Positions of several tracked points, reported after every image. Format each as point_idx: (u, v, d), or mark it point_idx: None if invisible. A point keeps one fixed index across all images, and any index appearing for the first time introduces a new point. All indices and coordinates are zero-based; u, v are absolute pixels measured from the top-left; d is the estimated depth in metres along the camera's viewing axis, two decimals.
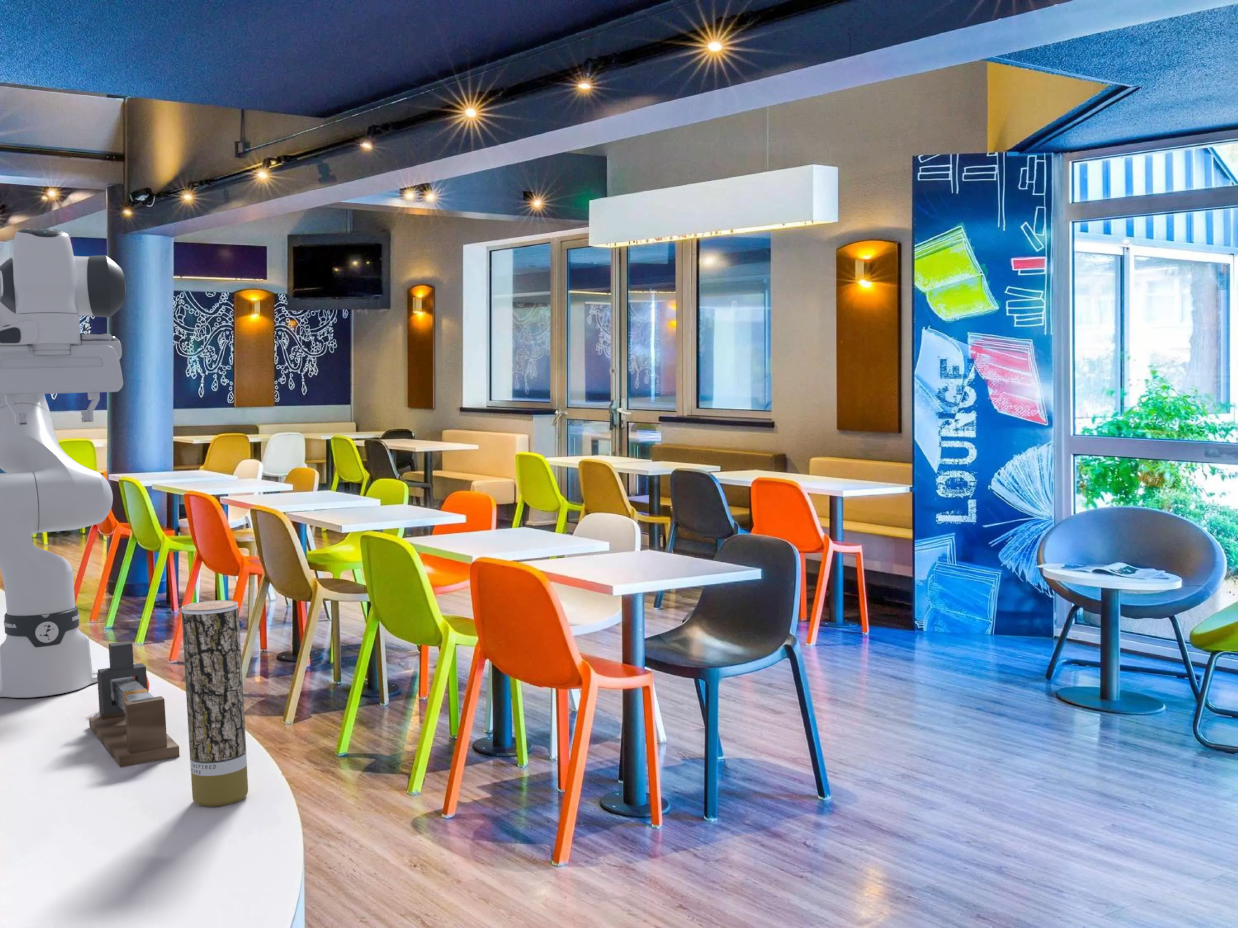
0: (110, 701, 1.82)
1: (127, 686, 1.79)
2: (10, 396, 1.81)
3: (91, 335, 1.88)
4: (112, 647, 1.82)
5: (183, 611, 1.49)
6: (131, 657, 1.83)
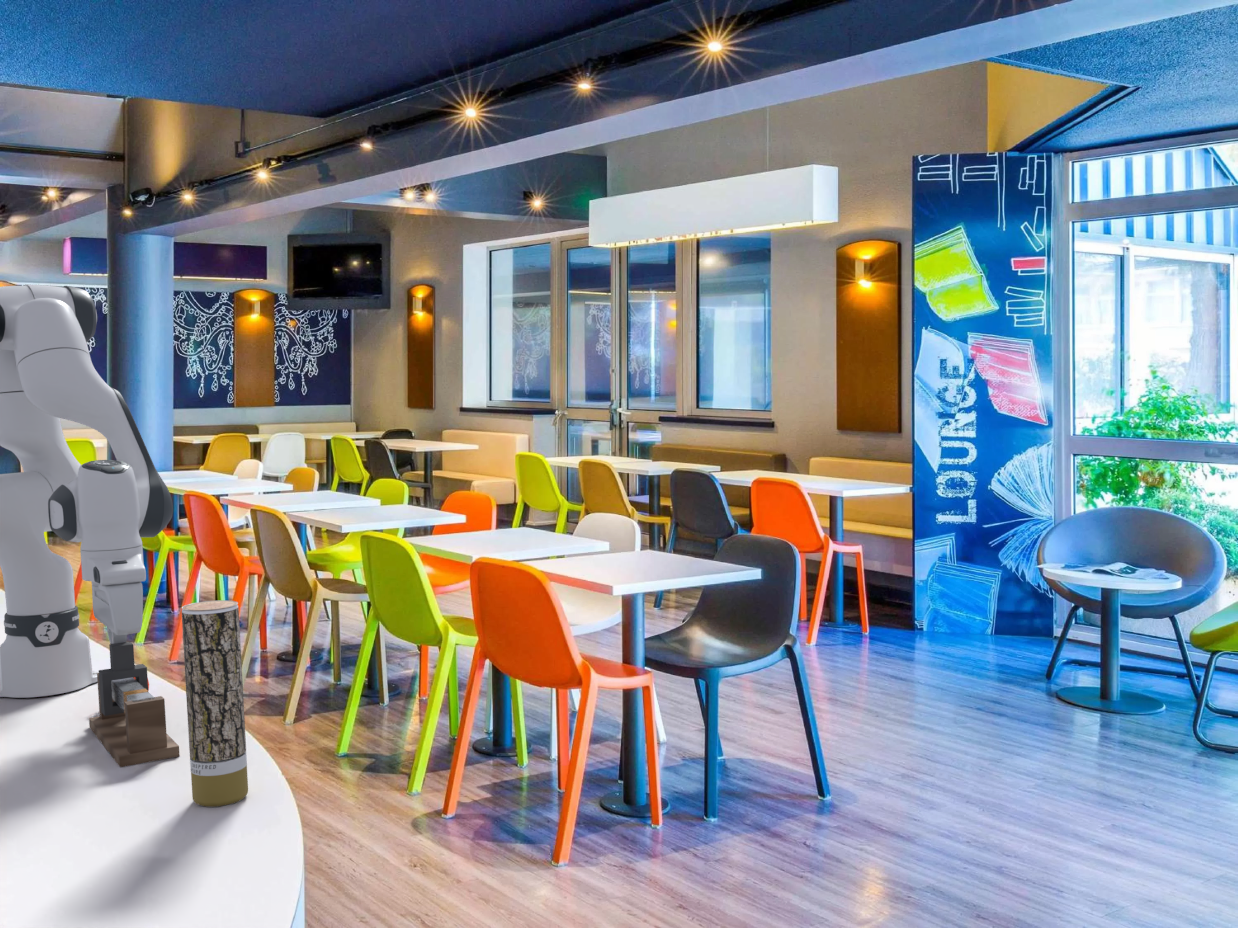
0: (111, 702, 1.81)
1: (127, 686, 1.79)
2: None
3: None
4: (113, 648, 1.81)
5: (183, 611, 1.49)
6: (132, 658, 1.83)
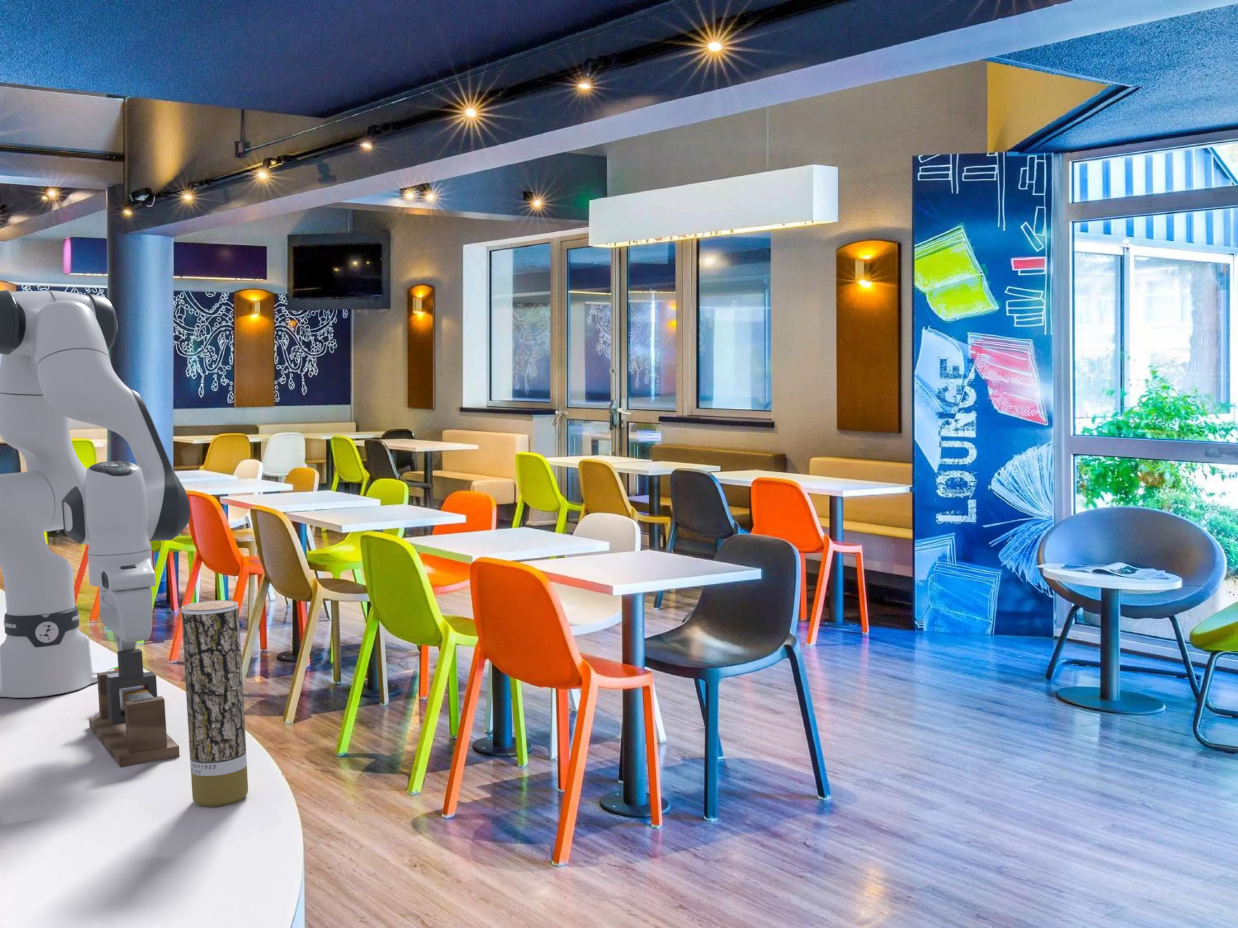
0: (119, 711, 1.76)
1: None
2: None
3: None
4: (121, 655, 1.76)
5: (183, 611, 1.49)
6: (141, 665, 1.77)
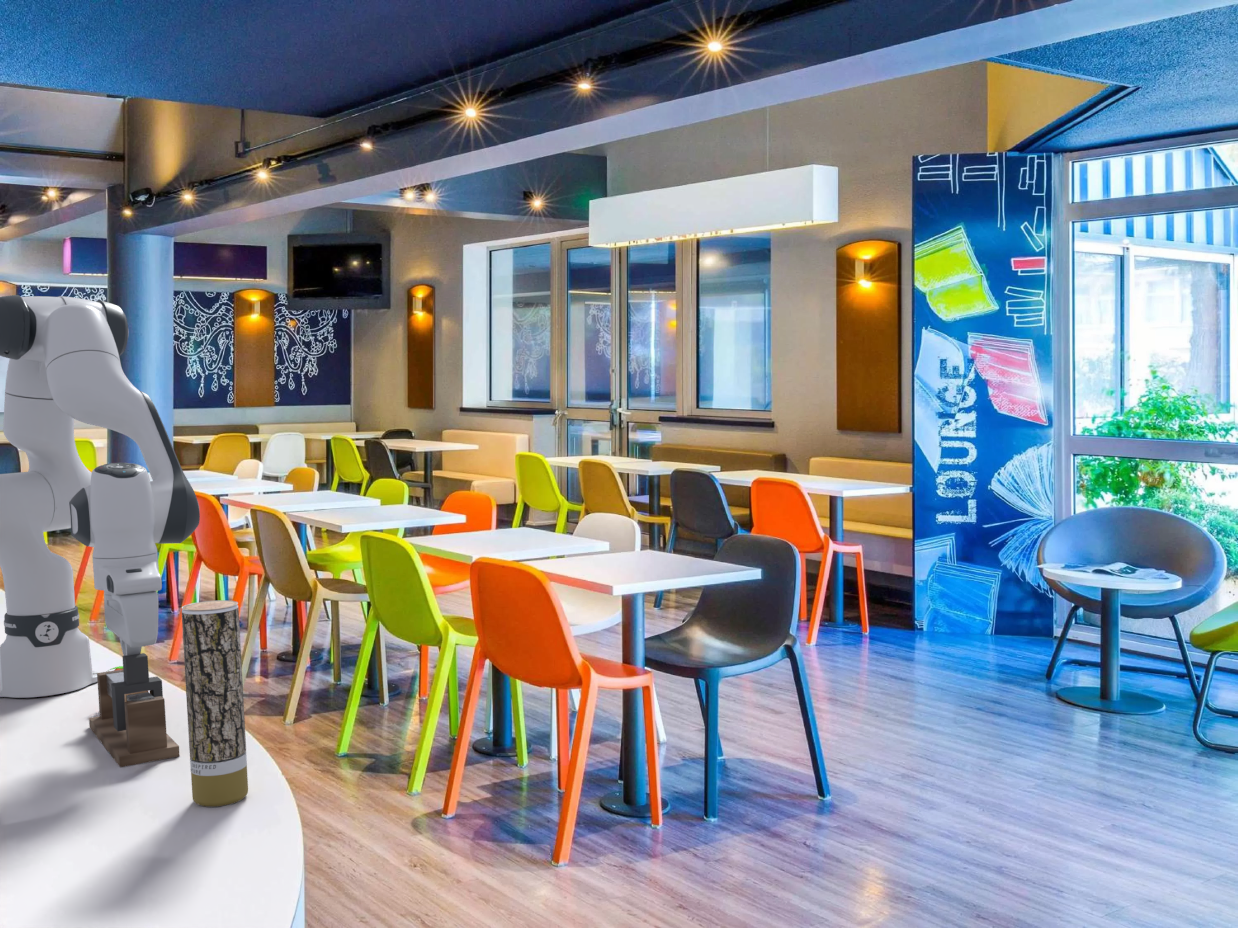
0: (124, 717, 1.72)
1: None
2: None
3: None
4: (126, 660, 1.73)
5: (183, 611, 1.49)
6: (146, 670, 1.74)
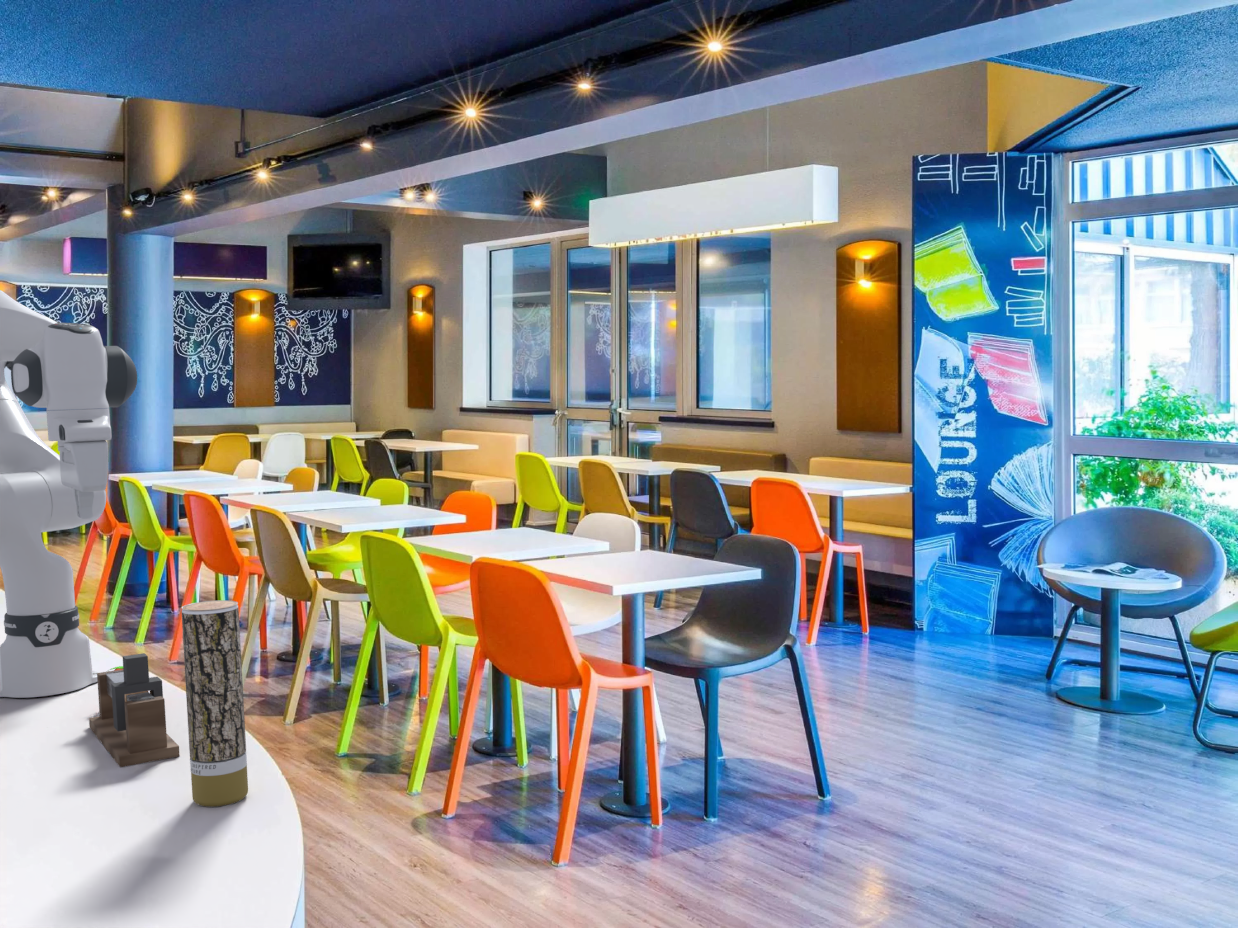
0: (124, 717, 1.72)
1: None
2: None
3: None
4: (126, 660, 1.72)
5: (183, 611, 1.49)
6: (146, 670, 1.74)
